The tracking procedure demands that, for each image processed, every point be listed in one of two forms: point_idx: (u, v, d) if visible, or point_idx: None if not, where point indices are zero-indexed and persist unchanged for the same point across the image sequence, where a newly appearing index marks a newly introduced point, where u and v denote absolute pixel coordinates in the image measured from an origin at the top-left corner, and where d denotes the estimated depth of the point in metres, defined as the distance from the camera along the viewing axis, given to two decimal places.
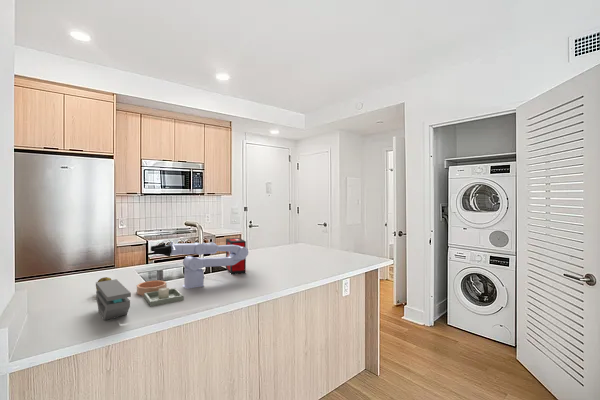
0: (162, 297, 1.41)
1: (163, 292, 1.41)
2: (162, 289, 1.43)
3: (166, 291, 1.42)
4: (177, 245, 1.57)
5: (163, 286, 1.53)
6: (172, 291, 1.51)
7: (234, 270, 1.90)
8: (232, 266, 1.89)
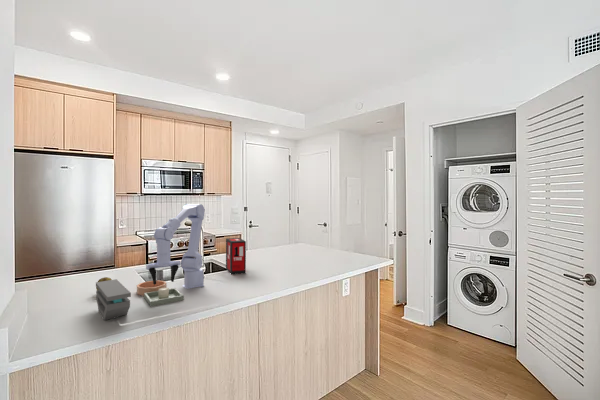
0: (162, 297, 1.41)
1: (163, 292, 1.41)
2: (162, 289, 1.43)
3: (166, 291, 1.42)
4: (168, 258, 1.42)
5: (163, 286, 1.53)
6: (172, 291, 1.51)
7: (234, 270, 1.90)
8: (232, 266, 1.89)
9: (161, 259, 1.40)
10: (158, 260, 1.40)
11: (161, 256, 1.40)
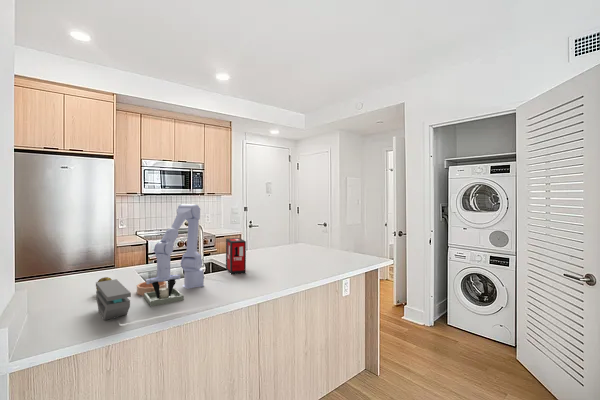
0: (162, 297, 1.41)
1: (163, 292, 1.41)
2: (162, 289, 1.43)
3: (166, 291, 1.42)
4: (168, 273, 1.42)
5: (163, 286, 1.53)
6: (172, 291, 1.51)
7: (234, 270, 1.90)
8: (232, 266, 1.89)
9: (161, 273, 1.40)
10: (158, 275, 1.41)
11: (161, 270, 1.40)
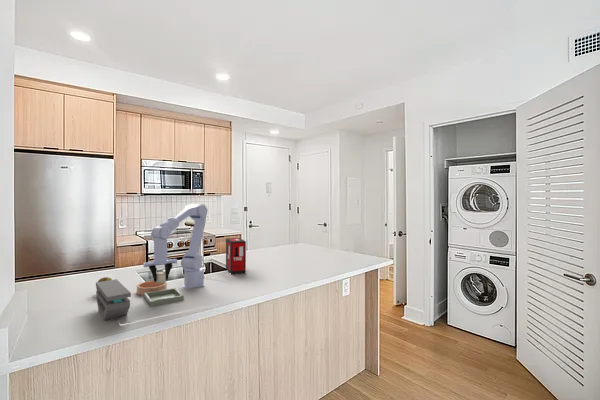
0: (159, 280, 1.44)
1: (160, 275, 1.44)
2: (159, 273, 1.45)
3: (163, 274, 1.44)
4: (165, 257, 1.45)
5: (163, 286, 1.53)
6: (172, 291, 1.51)
7: (234, 270, 1.90)
8: (232, 266, 1.89)
9: (158, 257, 1.43)
10: (155, 258, 1.43)
11: (158, 254, 1.43)
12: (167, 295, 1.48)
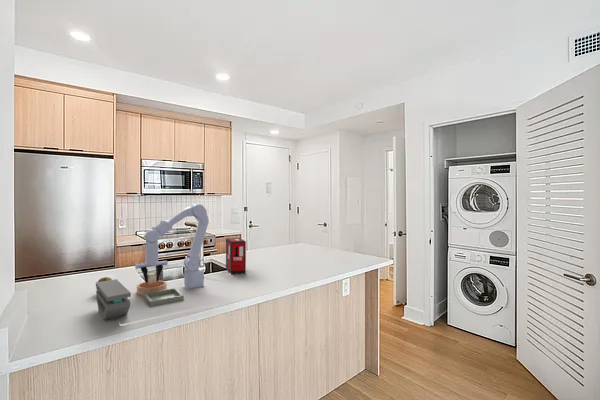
0: (150, 281, 1.52)
1: (151, 277, 1.52)
2: (150, 274, 1.53)
3: (154, 276, 1.53)
4: (156, 259, 1.53)
5: (163, 286, 1.53)
6: (172, 291, 1.51)
7: (234, 270, 1.90)
8: (232, 266, 1.89)
9: (149, 259, 1.51)
10: (146, 260, 1.51)
11: (149, 256, 1.51)
12: (167, 295, 1.48)
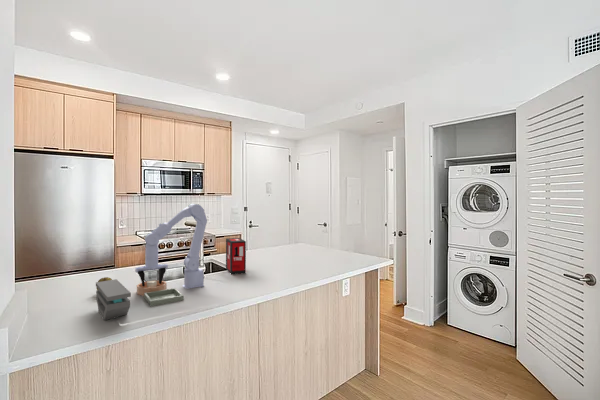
0: None
1: (151, 284, 1.52)
2: (150, 282, 1.53)
3: (154, 284, 1.53)
4: (156, 262, 1.53)
5: (163, 286, 1.53)
6: (172, 291, 1.51)
7: (234, 270, 1.90)
8: (232, 266, 1.89)
9: (149, 262, 1.51)
10: (146, 264, 1.51)
11: (149, 260, 1.51)
12: (167, 295, 1.48)
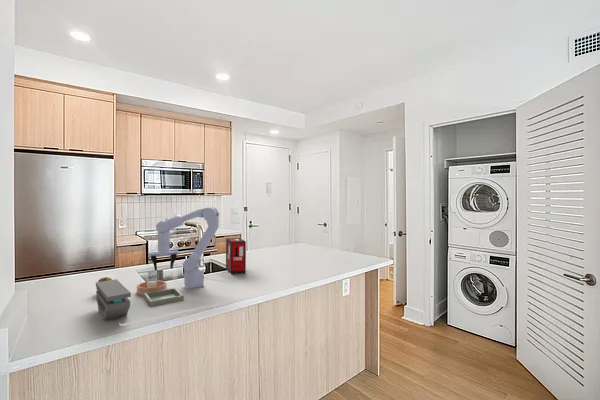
0: None
1: (151, 284, 1.52)
2: (150, 282, 1.53)
3: (154, 284, 1.53)
4: (168, 248, 1.62)
5: (163, 286, 1.53)
6: (172, 291, 1.51)
7: (234, 270, 1.90)
8: (232, 266, 1.89)
9: (161, 248, 1.60)
10: (158, 249, 1.60)
11: (161, 245, 1.60)
12: (167, 295, 1.48)
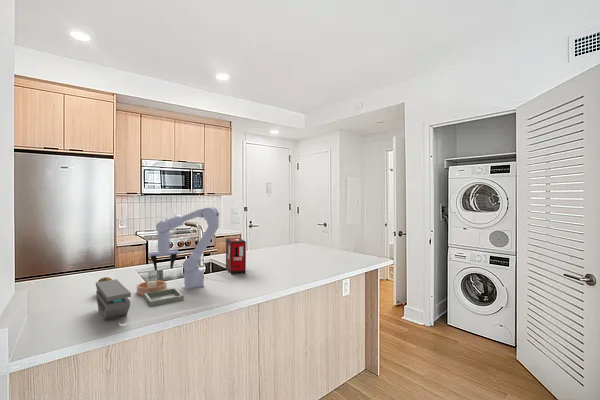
0: None
1: (151, 284, 1.52)
2: (150, 282, 1.53)
3: (154, 284, 1.53)
4: (168, 248, 1.62)
5: (163, 286, 1.53)
6: (172, 291, 1.51)
7: (234, 270, 1.90)
8: (232, 266, 1.89)
9: (161, 248, 1.60)
10: (158, 249, 1.60)
11: (161, 245, 1.60)
12: (167, 295, 1.48)
